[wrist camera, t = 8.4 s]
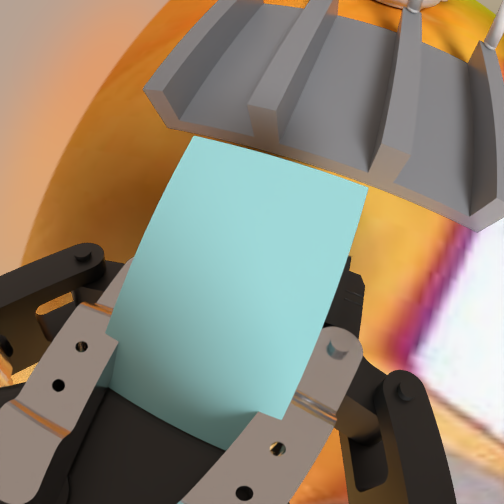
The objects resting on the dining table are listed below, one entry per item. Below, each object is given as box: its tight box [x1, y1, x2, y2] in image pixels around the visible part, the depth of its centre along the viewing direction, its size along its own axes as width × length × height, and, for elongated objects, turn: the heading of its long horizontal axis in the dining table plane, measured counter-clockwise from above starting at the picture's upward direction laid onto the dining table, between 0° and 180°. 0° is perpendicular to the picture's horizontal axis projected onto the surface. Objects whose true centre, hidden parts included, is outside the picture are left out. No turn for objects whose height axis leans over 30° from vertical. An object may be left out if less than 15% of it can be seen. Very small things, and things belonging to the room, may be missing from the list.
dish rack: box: [143, 0, 504, 233], centre depth 12 cm, size 20×14×10 cm
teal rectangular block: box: [105, 136, 368, 451], centre depth 10 cm, size 3×5×10 cm
